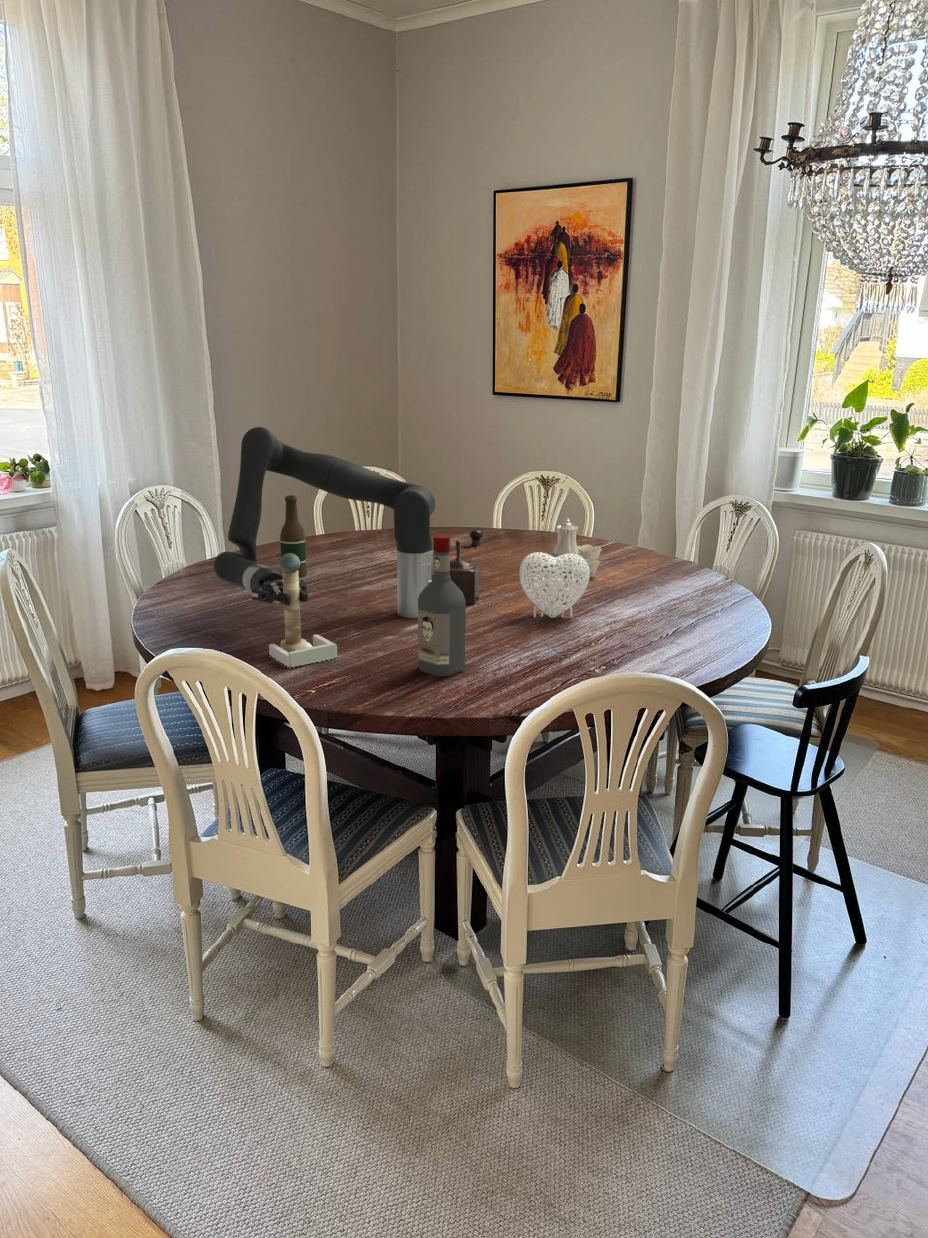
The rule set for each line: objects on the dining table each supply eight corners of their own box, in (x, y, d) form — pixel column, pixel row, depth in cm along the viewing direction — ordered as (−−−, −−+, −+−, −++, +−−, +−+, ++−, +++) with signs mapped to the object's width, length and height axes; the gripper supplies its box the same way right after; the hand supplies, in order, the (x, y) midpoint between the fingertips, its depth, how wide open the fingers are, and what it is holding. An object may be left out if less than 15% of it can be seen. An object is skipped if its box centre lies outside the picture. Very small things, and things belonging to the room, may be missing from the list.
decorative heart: (516, 621, 240) (518, 556, 235) (519, 609, 250) (521, 547, 245) (587, 625, 238) (590, 559, 233) (587, 612, 248) (590, 549, 243)
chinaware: (602, 588, 277) (612, 533, 272) (547, 580, 278) (555, 526, 273) (597, 564, 304) (605, 514, 299) (546, 557, 305) (553, 507, 299)
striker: (309, 644, 220) (305, 550, 213) (303, 653, 214) (299, 557, 207) (284, 643, 220) (279, 549, 213) (277, 652, 214) (272, 556, 207)
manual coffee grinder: (476, 605, 254) (477, 540, 248) (436, 603, 255) (436, 538, 250) (483, 589, 268) (484, 528, 263) (445, 588, 270) (445, 526, 264)
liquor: (439, 658, 214) (439, 529, 204) (470, 668, 208) (472, 536, 199) (412, 669, 207) (411, 536, 198) (443, 679, 201) (444, 543, 192)
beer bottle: (311, 573, 284) (308, 494, 276) (300, 579, 277) (297, 499, 269) (288, 571, 286) (284, 492, 278) (276, 577, 279) (272, 497, 271)
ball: (319, 654, 213) (311, 644, 215) (311, 645, 209) (303, 635, 212) (305, 665, 212) (298, 655, 215) (297, 657, 209) (289, 646, 212)
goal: (269, 656, 214) (268, 642, 213) (317, 646, 221) (317, 632, 220) (289, 669, 206) (288, 654, 205) (338, 658, 213) (338, 643, 212)
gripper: (235, 571, 219) (267, 588, 206) (290, 562, 227) (324, 578, 214) (237, 602, 221) (269, 620, 208) (291, 592, 229) (325, 610, 216)
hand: (297, 599), depth 211 cm, fingers closed on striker, 3 cm apart
